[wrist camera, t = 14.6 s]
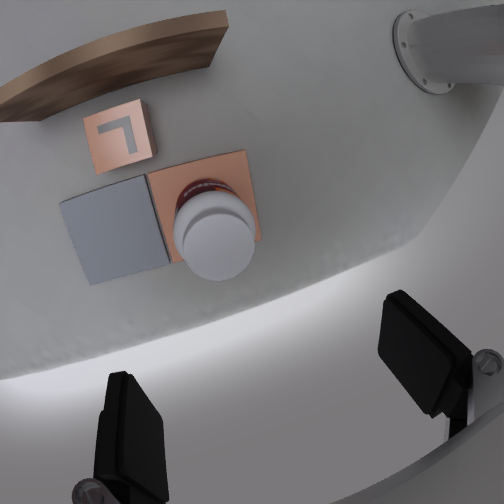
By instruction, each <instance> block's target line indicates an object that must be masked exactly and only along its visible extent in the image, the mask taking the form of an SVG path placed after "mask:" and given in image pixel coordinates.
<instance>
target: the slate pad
mask: <svg viewBox="0 0 504 504" xmlns="http://www.w3.org/2000/svg"><path fill="white" fill-rule="evenodd" d="M59 206H60V209H61V212H62V215H63V218H64V221H65V224H66V227H67V229H68V232H69V235H70V238H71V240H72V243H73V245H74V248H75V251H76V253H77V256H78V258H79V260H80V263H81V265H82V268H83V270H84V272H85V275H86V277H87V279H88V281H89V284H90V285H94V284H98V283H101V282H105V281H109V280H112V279H116V278H120V277H123V276H127V275H131V274H134V273H138V272H142V271H146V270H149V269H153V268H157V267H161V266H164V265H168V264H170V259H169V256H168V253H167V250H166V247H165V243H164V240H163V237H162V234H161V230H160V227H159V224H158V220H157V217H156V213H155V210H154V206H153V203H152V199H151V195H150V192H149V188H148V184H147V180H146V177H145V174H143V175H140V176H136V177H133V178H130V179H127V180H123V181H120V182H117V183H114V184H111V185H108V186H105V187H102V188H99V189H96V190H93V191H90V192H87V193H85V194H82V195H79V196H76V197H74V198H71V199H68V200H66V201H63V202H61V203H60V204H59Z"/></svg>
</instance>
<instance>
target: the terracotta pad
mask: <svg viewBox="0 0 504 504" xmlns="http://www.w3.org/2000/svg"><path fill="white" fill-rule="evenodd" d="M148 177H149V181H150V184H151V188H152V192H153V196H154V199H155V203H156V207H157V210H158V214H159V217H160V221H161V224H162V227H163V231H164V234H165V237H166V241H167V244H168V247H169V250H170V254H171V257H172V260H173V263H176V262H179V261H183V260H184V259H183V258H182V257H181V256H180V254H179V253H178V251H177V249H176V247H175V243H174V239H173V225H174V216H175V208H176V202H177V199H178V196H179V194H180V193H181V191H182V190H183V189H184V188H185V187H186V186H187V185H188V184H189V183H191V182H192V181H194V180H197V179H200V178H206V177H211V178H217V179H220V180H222V181H224V182H225V183H227V184H228V185H229V186H230V187H231V188H232V189H233V190H234V191H235V192H236V193H237V195H238V196H239V197H240V198H241V199H242V201H243V202H244V203H245V204H246V205H247V207H248V208H249V210H250V211H251V213H252V215H253V218H254V221H255V227H256V235H255V241H254V242H256V241H260V240H262V239H261V233H260V227H259V222H258V216H257V210H256V205H255V199H254V194H253V188H252V183H251V177H250V172H249V166H248V161H247V155H246V150H240V151H235V152H230V153H226V154H221V155H217V156H212V157H208V158H203V159H199V160H195V161H191V162H187V163H183V164H179V165H175V166H172V167H168V168H164V169H161V170H157V171H153V172H150V173H148Z"/></svg>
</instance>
